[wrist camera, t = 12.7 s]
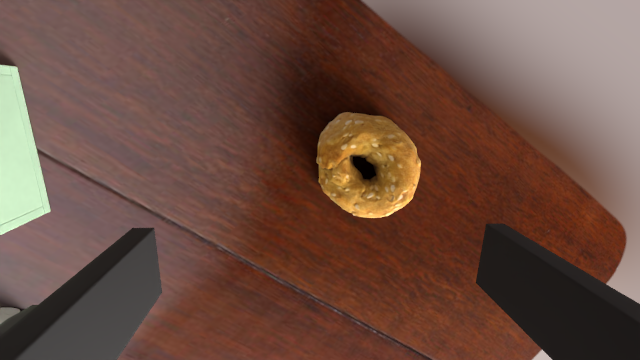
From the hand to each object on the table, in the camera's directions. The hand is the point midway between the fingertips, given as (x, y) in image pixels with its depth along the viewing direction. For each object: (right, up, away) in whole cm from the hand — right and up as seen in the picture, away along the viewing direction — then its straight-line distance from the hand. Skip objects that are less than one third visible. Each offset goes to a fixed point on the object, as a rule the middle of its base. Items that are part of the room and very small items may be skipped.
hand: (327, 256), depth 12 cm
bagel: (+4, +5, +20) cm, 21 cm away
